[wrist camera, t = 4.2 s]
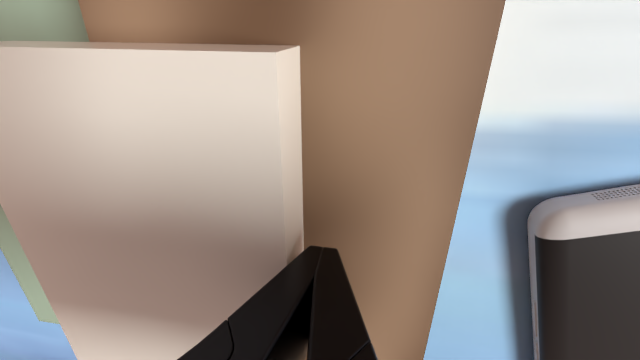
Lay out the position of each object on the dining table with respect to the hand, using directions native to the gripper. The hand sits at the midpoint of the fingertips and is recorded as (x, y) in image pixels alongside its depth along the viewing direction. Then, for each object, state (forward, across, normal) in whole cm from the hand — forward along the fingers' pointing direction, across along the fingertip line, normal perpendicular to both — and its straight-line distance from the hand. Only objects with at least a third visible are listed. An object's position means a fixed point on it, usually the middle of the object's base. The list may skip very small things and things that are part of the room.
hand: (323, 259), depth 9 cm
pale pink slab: (+1, +5, 0) cm, 5 cm away
